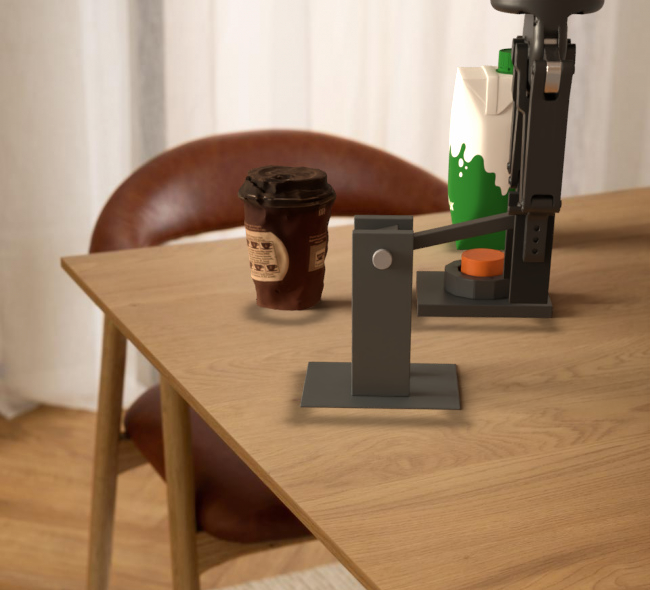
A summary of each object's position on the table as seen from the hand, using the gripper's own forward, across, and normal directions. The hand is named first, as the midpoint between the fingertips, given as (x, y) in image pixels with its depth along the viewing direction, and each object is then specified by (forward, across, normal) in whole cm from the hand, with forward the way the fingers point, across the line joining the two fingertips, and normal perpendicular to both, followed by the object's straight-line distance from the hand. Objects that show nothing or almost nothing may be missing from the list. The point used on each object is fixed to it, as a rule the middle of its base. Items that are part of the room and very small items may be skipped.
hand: (524, 288), depth 88 cm
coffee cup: (+9, +20, +20) cm, 29 cm away
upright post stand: (+9, 0, +10) cm, 14 cm away
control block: (+9, +21, +2) cm, 23 cm away
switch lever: (-3, 0, +5) cm, 6 cm away
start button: (+5, +21, +2) cm, 22 cm away
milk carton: (+9, +44, 0) cm, 45 cm away
